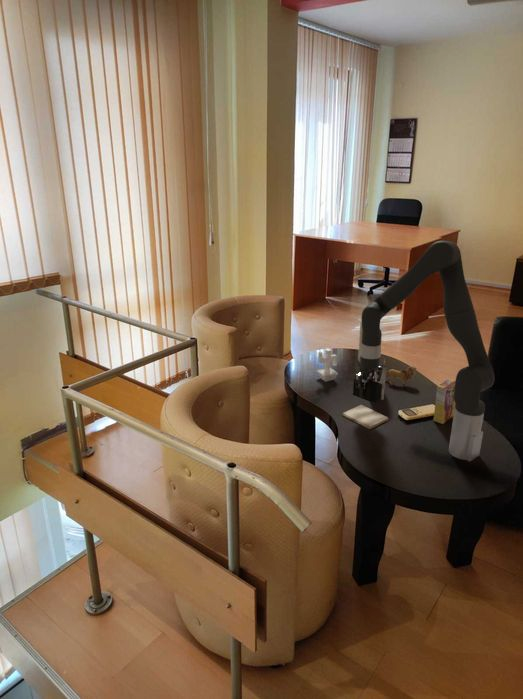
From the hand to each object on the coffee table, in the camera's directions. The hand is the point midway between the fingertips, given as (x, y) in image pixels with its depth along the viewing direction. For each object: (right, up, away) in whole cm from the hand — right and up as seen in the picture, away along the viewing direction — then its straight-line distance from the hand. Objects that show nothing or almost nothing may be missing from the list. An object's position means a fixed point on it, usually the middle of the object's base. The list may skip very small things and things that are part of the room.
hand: (367, 394), depth 196 cm
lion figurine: (+21, +2, +32) cm, 38 cm away
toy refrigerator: (+11, +12, +57) cm, 60 cm away
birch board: (0, -10, +4) cm, 10 cm away
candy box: (+30, -10, +2) cm, 32 cm away
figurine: (-11, +4, +37) cm, 39 cm away
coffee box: (+9, -2, +22) cm, 24 cm away
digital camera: (0, -1, 0) cm, 1 cm away
